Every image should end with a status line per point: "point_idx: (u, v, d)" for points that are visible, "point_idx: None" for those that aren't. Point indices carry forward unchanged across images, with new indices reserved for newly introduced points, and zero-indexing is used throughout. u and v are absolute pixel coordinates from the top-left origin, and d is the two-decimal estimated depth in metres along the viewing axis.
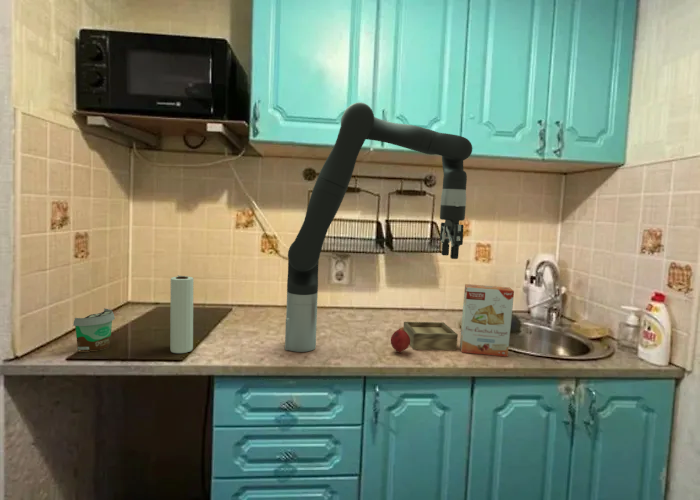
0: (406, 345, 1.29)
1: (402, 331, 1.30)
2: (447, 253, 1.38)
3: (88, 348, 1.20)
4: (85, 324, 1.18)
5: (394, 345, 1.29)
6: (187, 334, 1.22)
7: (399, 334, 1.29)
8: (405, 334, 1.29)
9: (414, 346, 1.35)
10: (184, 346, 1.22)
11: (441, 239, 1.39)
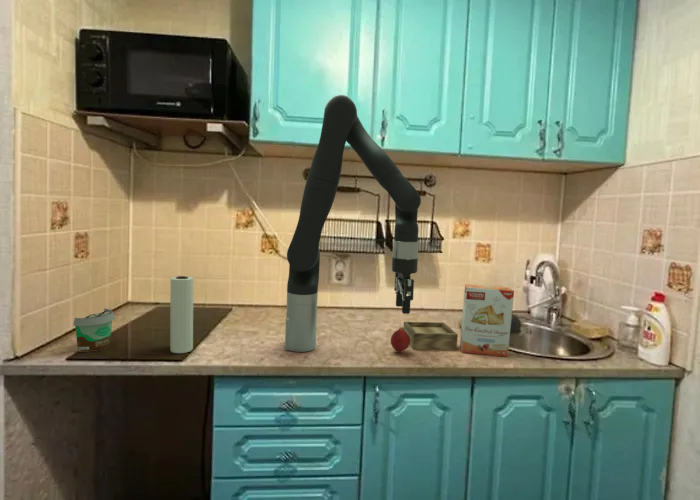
0: (406, 345, 1.29)
1: (402, 331, 1.30)
2: (401, 304, 1.34)
3: (88, 348, 1.20)
4: (85, 324, 1.18)
5: (394, 345, 1.29)
6: (187, 334, 1.22)
7: (399, 334, 1.29)
8: (405, 334, 1.29)
9: (414, 346, 1.35)
10: (184, 346, 1.22)
11: (395, 289, 1.35)
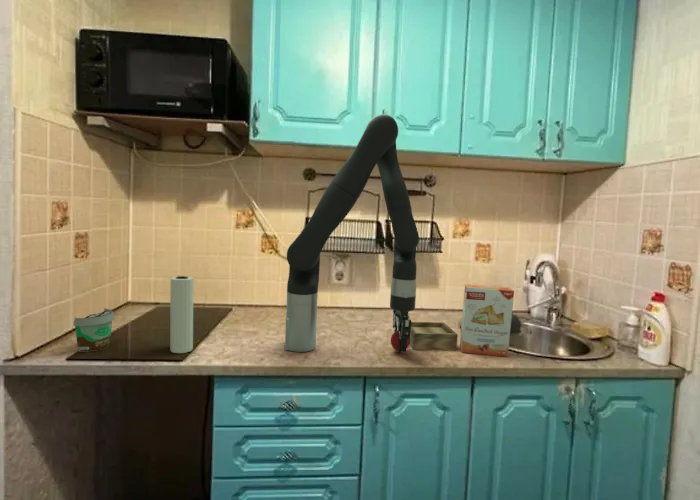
0: None
1: None
2: None
3: (88, 348, 1.20)
4: (85, 324, 1.18)
5: (394, 345, 1.29)
6: (187, 334, 1.22)
7: None
8: (405, 334, 1.29)
9: (414, 346, 1.35)
10: (184, 346, 1.22)
11: None
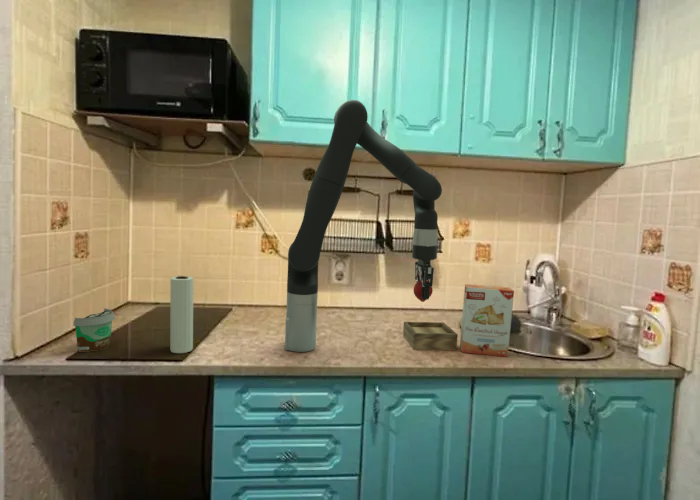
0: (429, 293, 1.33)
1: None
2: None
3: (88, 348, 1.20)
4: (84, 324, 1.18)
5: (417, 294, 1.33)
6: (187, 334, 1.22)
7: None
8: None
9: (414, 346, 1.35)
10: (184, 346, 1.22)
11: (416, 278, 1.40)
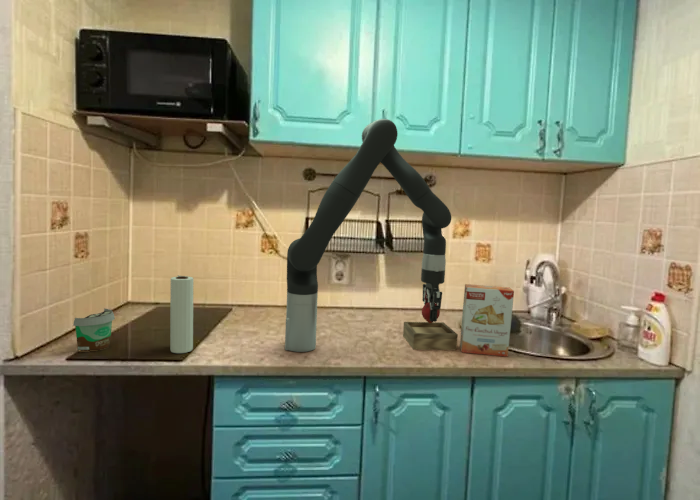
0: None
1: None
2: None
3: (88, 348, 1.20)
4: (85, 324, 1.18)
5: (425, 316, 1.39)
6: (187, 334, 1.22)
7: None
8: None
9: (414, 346, 1.35)
10: (184, 346, 1.22)
11: None
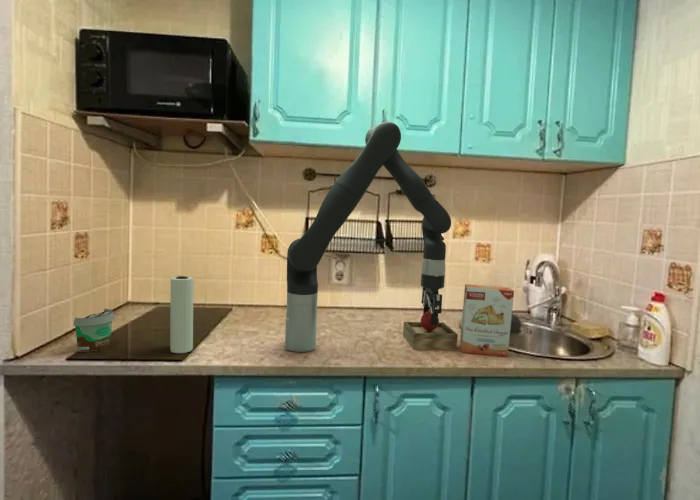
0: None
1: None
2: None
3: (88, 348, 1.20)
4: (85, 324, 1.18)
5: (424, 325, 1.40)
6: (187, 334, 1.22)
7: (429, 315, 1.39)
8: None
9: (414, 346, 1.35)
10: (184, 346, 1.22)
11: None
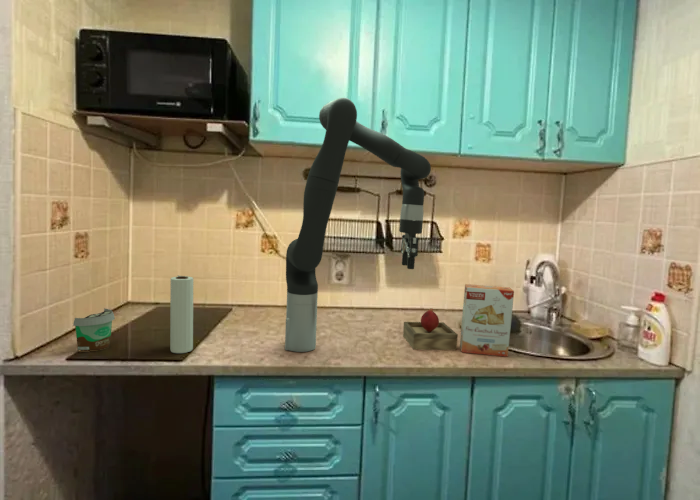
0: (435, 325, 1.39)
1: (431, 312, 1.41)
2: (407, 263, 1.48)
3: (88, 348, 1.20)
4: (84, 324, 1.18)
5: (424, 325, 1.40)
6: (187, 334, 1.22)
7: (429, 314, 1.40)
8: (434, 314, 1.40)
9: (414, 346, 1.35)
10: (184, 346, 1.22)
11: None
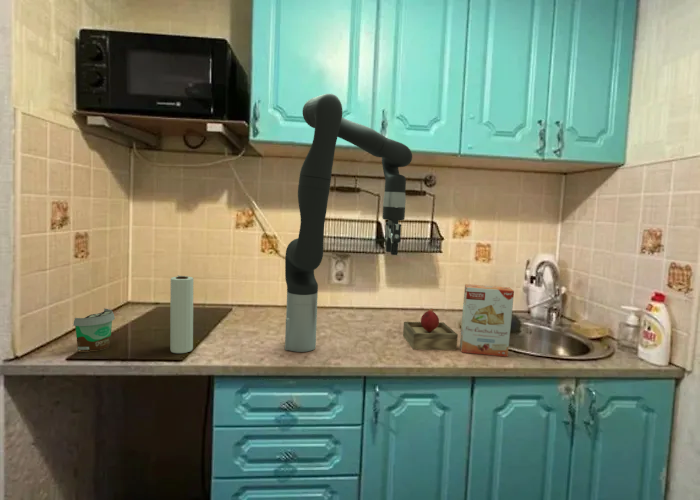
0: (435, 325, 1.39)
1: (432, 312, 1.40)
2: (391, 250, 1.52)
3: (88, 348, 1.20)
4: (85, 324, 1.18)
5: (424, 325, 1.40)
6: (187, 334, 1.22)
7: (429, 314, 1.40)
8: (434, 315, 1.40)
9: (414, 346, 1.35)
10: (184, 346, 1.22)
11: (386, 237, 1.53)
